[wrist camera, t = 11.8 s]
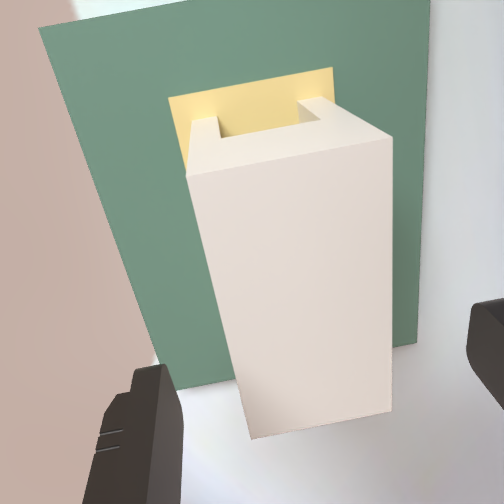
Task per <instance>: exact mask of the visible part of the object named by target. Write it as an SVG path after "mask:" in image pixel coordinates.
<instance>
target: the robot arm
mask: <svg viewBox="0 0 504 504" xmlns="http://www.w3.org/2000/svg"><path fill="white" fill-rule="evenodd" d="M466 352H467V357H468V360H469V363H470V365H471V367H472V369H473V371H474V372H475V373H476V375H477V376H478V377H479V379H480V380H481V381H482V383H483V384H484V385H485V386H486V388H487V389H488V390H489V392H490V393H491V394H492V395H493V397H494V398H495V399H496V401H497V402H498V403H499V404H500V406H501V407H502V408H503V410H504V298H501V299H496V300H490V301H485V302H480V303H476V304H474V305H473V306H472V308H471V314H470V322H469V330H468V338H467V346H466ZM183 430H184V424H183V414H182V408H181V404H180V401H179V398H178V395H177V393H176V390H175V387H174V384H173V381H172V379H171V376H170V373H169V370H168V368H167V366H166V364H159V365H154V366H149V367H144V368H139V369H136V370H135V371H134V374H133V379H132V384H131V389H130V392H126V393H121V394H117V395H116V396H115V398H114V399H113V401H112V402H111V404H110V406H109V407H108V408H107V410H106V412H105V413H104V417H103V421H102V425H101V429H100V437H98V441H97V445H96V454H94V458H93V462H92V466H91V470H90V475H89V478H88V482H87V486H86V490H85V494H84V499H83V502H82V504H180V501H181V477H182V454H183Z"/></svg>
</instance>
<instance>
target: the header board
mask: <svg viewBox="0 0 504 504" xmlns="http://www.w3.org/2000/svg"><path fill="white" fill-rule="evenodd" d="M429 17H430V0H187V1H181V2H176V3H171V4H165V5H160V6H154V7H149V8H143V9H138V10H133V11H127V12H122V13H116V14H111V15H106V16H100V17H95V18H89V19H84V20H78V21H73V22H68V23H62V24H57V25H52V26H46V27H41V28H38V29H39V32H40V35H41V37H42V40H43V43H44V46H45V48H46V51H47V54H48V57H49V59H50V62H51V65H52V68H53V70H54V73H55V76H56V79H57V81H58V84H59V87H60V90H61V93H62V95H63V98H64V101H65V104H66V106H67V109H68V112H69V115H70V117H71V120H72V123H73V125H74V128H75V131H76V134H77V136H78V139H79V142H80V145H81V148H82V150H83V153H84V156H85V158H86V161H87V164H88V167H89V170H90V172H91V175H92V178H93V180H94V183H95V186H96V189H97V192H98V194H99V197H100V200H101V203H102V205H103V208H104V211H105V214H106V216H107V219H108V222H109V225H110V228H111V230H112V233H113V236H114V239H115V241H116V244H117V247H118V249H119V252H120V255H121V258H122V261H123V264H124V266H125V269H126V272H127V275H128V277H129V280H130V283H131V286H132V288H133V291H134V294H135V297H136V299H137V302H138V305H139V308H140V310H141V313H142V316H143V319H144V321H145V324H146V327H147V330H148V332H149V335H150V338H151V341H152V344H153V346H154V349H155V352H156V355H157V357H158V360H159V363H160V364H166V366H167V368H168V370H169V373H170V376H171V379H172V381H173V384H174V387H175V390H176V391H177V390H182V389H187V388H192V387H197V386H202V385H207V384H212V383H217V382H222V381H227V380H232V379H236V377H235V373H234V369H233V365H232V361H231V357H230V353H229V349H228V345H227V341H226V336H225V332H224V328H223V324H222V320H221V316H220V312H219V308H218V304H217V300H216V296H215V292H214V288H213V284H212V280H211V276H210V272H209V268H208V264H207V260H206V256H205V252H204V248H203V244H202V240H201V236H200V232H199V228H198V224H197V220H196V215H195V211H194V207H193V203H192V199H191V195H190V191H189V187H188V183H187V179H186V170H187V161H188V152H189V142H190V133H191V124H192V121H193V120H198V119H203V118H209V117H214V116H217V119H218V124H219V129H220V134H221V138H226V137H231V136H237V135H242V134H247V133H253V132H258V131H263V130H268V129H274V128H279V127H284V126H290V125H295V124H299V117H298V107H297V101H299V100H304V99H310V98H315V97H320V96H322V97H324V98H326V99H327V100H329V101H331V102H333V103H334V104H336V105H338V106H340V107H341V108H343V109H345V110H346V111H348V112H350V113H352V114H353V115H355V116H357V117H359V118H360V119H362V120H364V121H366V122H367V123H369V124H371V125H373V126H374V127H376V128H378V129H379V130H381V131H383V132H385V133H386V134H388V135H390V136H392V137H393V217H392V348H393V347H398V346H403V345H408V344H413V343H417V322H418V297H419V271H420V246H421V221H422V195H423V170H424V144H425V119H426V94H427V68H428V43H429Z"/></svg>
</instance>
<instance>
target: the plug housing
mask: <svg viewBox="0 0 504 504" xmlns="http://www.w3.org/2000/svg"><path fill="white" fill-rule="evenodd" d="M297 107H298V117H299V124H295V125H290V126H284V127H279V128H274V129H268V130H263V131H258V132H253V133H247V134H242V135H237V136H231V137H226V138H221V134H220V129H219V124H218V119H217V116H214V117H209V118H203V119H198V120H193V121H192V124H191V133H190V142H189V152H188V161H187V170H186V179H187V183H188V187H189V191H190V195H191V199H192V203H193V207H194V211H195V215H196V220H197V224H198V228H199V232H200V236H201V240H202V244H203V248H204V252H205V256H206V260H207V264H208V268H209V272H210V276H211V280H212V284H213V288H214V292H215V296H216V300H217V304H218V308H219V312H220V316H221V320H222V324H223V328H224V332H225V336H226V341H227V345H228V349H229V353H230V357H231V361H232V365H233V369H234V373H235V377H236V381H237V385H238V389H239V393H240V397H241V401H242V405H243V409H244V413H245V417H246V421H247V425H248V429H249V433H250V437H251V440H252V439H257V438H262V437H267V436H272V435H277V434H282V433H287V432H292V431H297V430H302V429H307V428H312V427H317V426H322V425H327V424H331V423H336V422H341V421H346V420H351V419H356V418H361V417H366V416H371V415H376V414H381V413H386V412H391V411H392V217H393V137H392V136H390V135H388V134H386V133H385V132H383V131H381V130H379V129H378V128H376V127H374V126H373V125H371V124H369V123H367V122H366V121H364V120H362V119H360V118H359V117H357V116H355V115H353V114H352V113H350V112H348V111H346V110H345V109H343V108H341V107H340V106H338V105H336V104H334V103H333V102H331V101H329V100H327V99H326V98H324V97H322V96H320V97H315V98H310V99H304V100H299V101H297Z"/></svg>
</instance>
